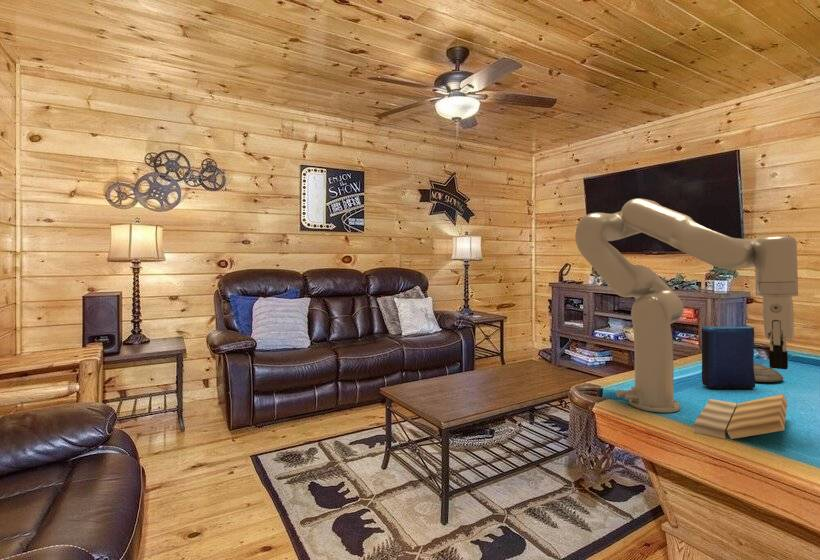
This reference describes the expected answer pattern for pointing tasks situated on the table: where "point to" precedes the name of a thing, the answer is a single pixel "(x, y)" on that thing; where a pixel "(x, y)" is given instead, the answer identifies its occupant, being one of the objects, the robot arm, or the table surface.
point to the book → (728, 356)
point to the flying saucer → (766, 374)
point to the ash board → (715, 418)
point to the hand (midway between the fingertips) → (778, 367)
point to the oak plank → (758, 417)
